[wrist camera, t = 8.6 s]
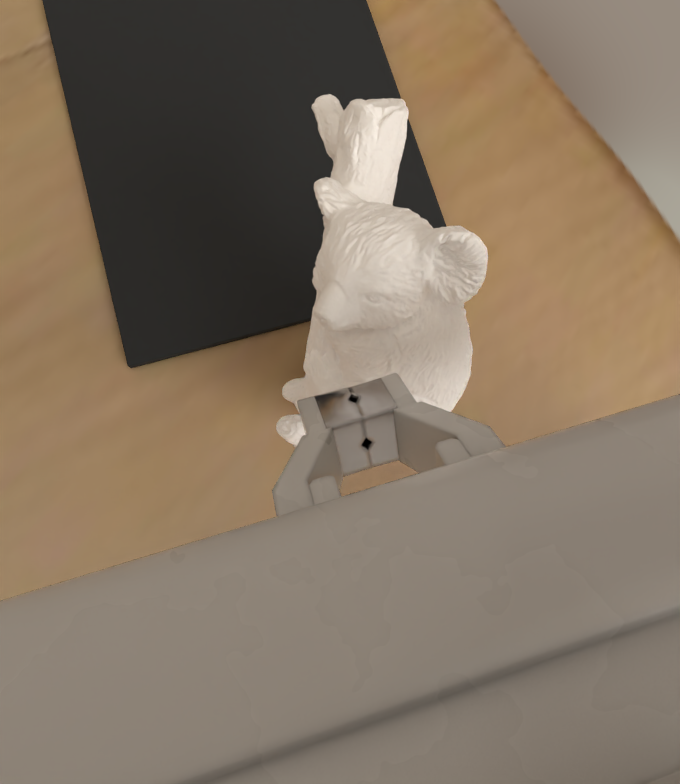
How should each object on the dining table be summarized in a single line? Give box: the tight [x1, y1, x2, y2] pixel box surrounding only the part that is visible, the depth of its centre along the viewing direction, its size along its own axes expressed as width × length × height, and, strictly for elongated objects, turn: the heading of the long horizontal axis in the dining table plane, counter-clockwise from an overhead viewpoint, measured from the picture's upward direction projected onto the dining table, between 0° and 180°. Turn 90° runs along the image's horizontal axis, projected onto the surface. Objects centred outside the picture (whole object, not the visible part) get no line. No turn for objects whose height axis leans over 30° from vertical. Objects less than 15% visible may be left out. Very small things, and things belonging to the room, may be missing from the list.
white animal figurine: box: [276, 94, 488, 448], centre depth 18 cm, size 8×7×12 cm
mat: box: [42, 0, 446, 368], centre depth 25 cm, size 20×16×1 cm
